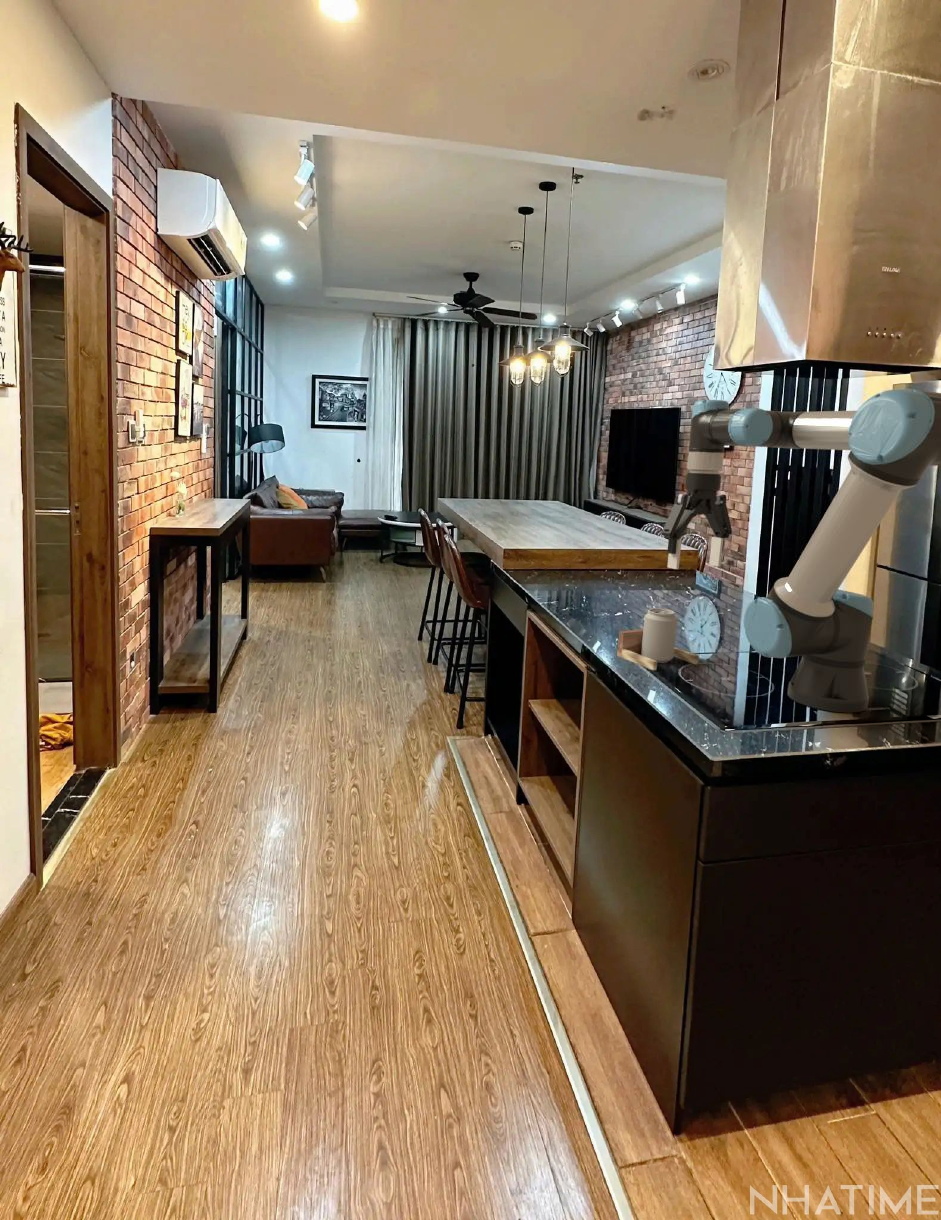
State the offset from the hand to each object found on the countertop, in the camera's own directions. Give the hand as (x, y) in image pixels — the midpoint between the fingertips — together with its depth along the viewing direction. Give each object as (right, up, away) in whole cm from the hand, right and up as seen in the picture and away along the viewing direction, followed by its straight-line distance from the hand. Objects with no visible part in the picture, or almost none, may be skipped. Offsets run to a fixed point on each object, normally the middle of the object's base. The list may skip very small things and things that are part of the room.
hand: (694, 567), depth 175 cm
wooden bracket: (-7, -21, +9) cm, 24 cm away
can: (-7, -22, +8) cm, 24 cm away
